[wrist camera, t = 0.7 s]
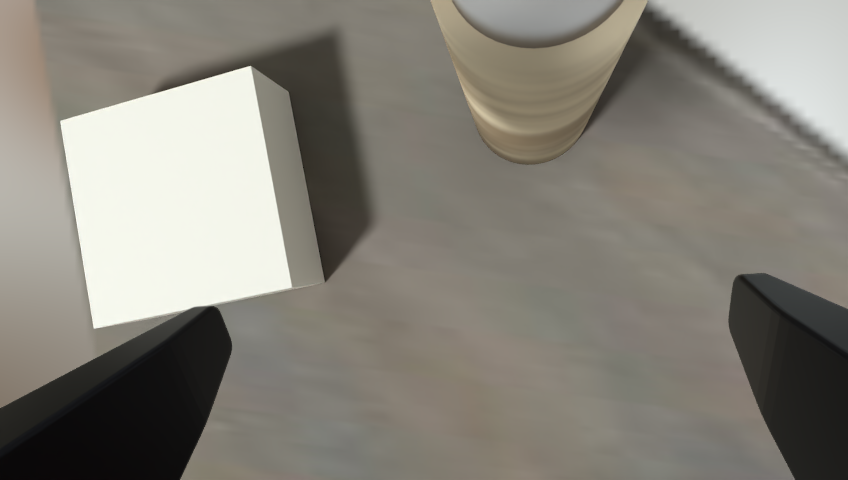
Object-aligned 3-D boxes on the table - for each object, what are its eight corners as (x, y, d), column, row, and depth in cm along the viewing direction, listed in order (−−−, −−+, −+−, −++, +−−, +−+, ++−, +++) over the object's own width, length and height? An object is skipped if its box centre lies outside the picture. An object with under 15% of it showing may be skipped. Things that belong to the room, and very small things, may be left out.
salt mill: (600, 149, 22) (707, 7, 9) (486, 175, 23) (441, 78, 10) (575, 39, 22) (646, -246, 10) (463, 69, 23) (392, -157, 10)
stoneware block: (324, 282, 24) (291, 287, 21) (151, 318, 26) (93, 328, 22) (288, 92, 25) (250, 65, 21) (121, 138, 26) (60, 120, 23)
